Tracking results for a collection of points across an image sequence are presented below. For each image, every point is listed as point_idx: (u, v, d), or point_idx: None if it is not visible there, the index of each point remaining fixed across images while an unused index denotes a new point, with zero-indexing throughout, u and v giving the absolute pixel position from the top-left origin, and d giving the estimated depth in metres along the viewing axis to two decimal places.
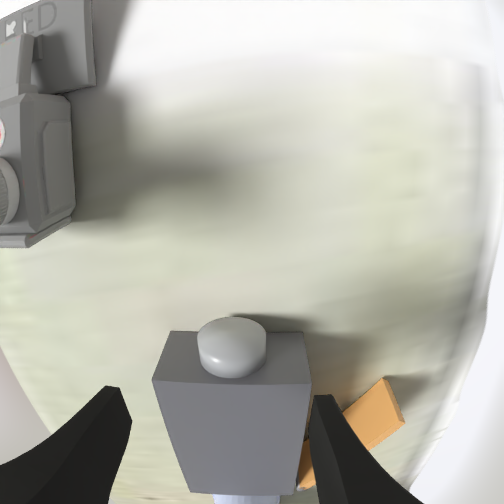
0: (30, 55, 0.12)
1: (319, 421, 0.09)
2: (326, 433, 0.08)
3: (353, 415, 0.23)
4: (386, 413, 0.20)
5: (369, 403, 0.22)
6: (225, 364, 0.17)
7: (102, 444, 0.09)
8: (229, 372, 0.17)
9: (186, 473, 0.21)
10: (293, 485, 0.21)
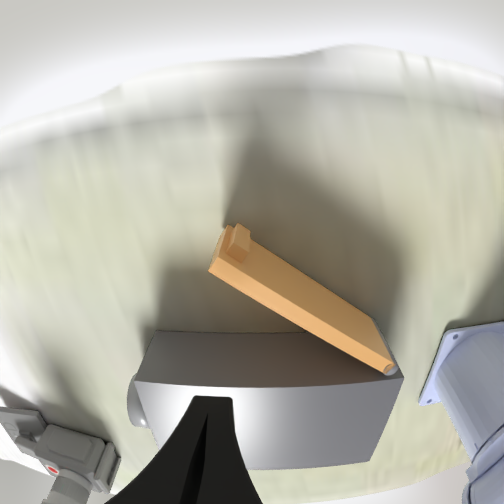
0: (24, 440, 0.24)
1: None
2: (207, 434, 0.08)
3: None
4: None
5: None
6: (138, 423, 0.18)
7: (203, 459, 0.09)
8: (145, 422, 0.18)
9: (318, 465, 0.19)
10: (369, 383, 0.16)
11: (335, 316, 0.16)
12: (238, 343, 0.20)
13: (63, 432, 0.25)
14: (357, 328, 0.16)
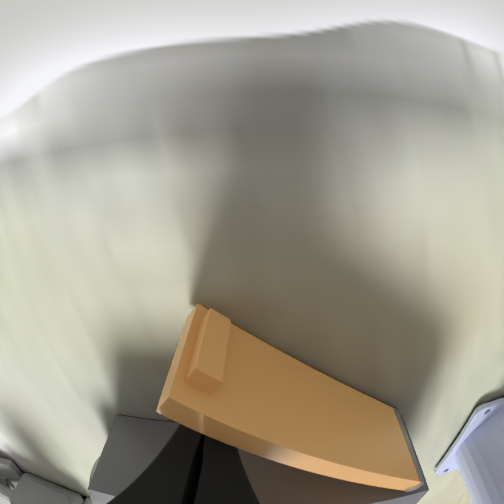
0: (0, 486, 0.18)
1: None
2: None
3: None
4: None
5: None
6: None
7: None
8: None
9: None
10: (385, 501, 0.10)
11: (351, 438, 0.10)
12: None
13: (38, 484, 0.19)
14: (378, 444, 0.10)
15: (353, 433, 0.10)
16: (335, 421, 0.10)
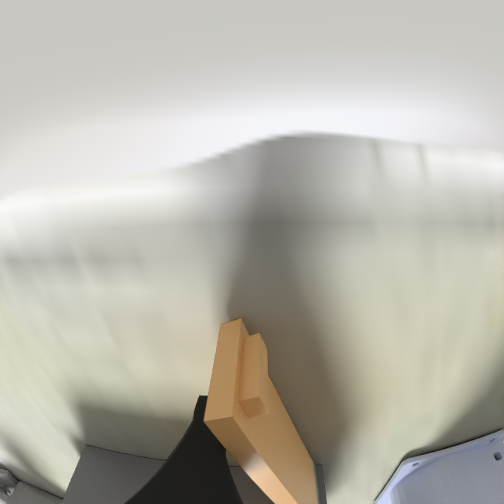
0: None
1: None
2: (192, 433, 0.08)
3: None
4: None
5: None
6: None
7: None
8: None
9: None
10: None
11: (298, 478, 0.11)
12: None
13: (32, 492, 0.21)
14: (307, 489, 0.12)
15: (299, 475, 0.11)
16: (293, 461, 0.11)
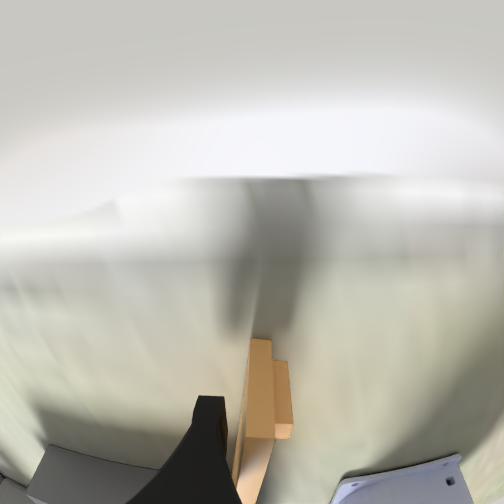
0: None
1: None
2: (191, 433, 0.08)
3: (240, 420, 0.12)
4: (245, 416, 0.09)
5: (244, 395, 0.11)
6: None
7: None
8: None
9: None
10: None
11: None
12: (109, 474, 0.16)
13: (15, 488, 0.21)
14: None
15: None
16: None
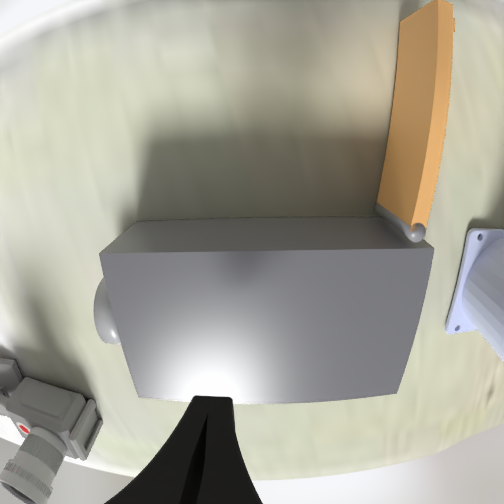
0: None
1: None
2: (207, 434, 0.08)
3: (404, 75, 0.13)
4: (425, 17, 0.10)
5: (407, 44, 0.13)
6: (106, 332, 0.16)
7: (203, 459, 0.09)
8: (114, 330, 0.16)
9: (333, 397, 0.16)
10: (393, 251, 0.13)
11: None
12: (230, 223, 0.17)
13: (40, 384, 0.23)
14: None
15: None
16: None
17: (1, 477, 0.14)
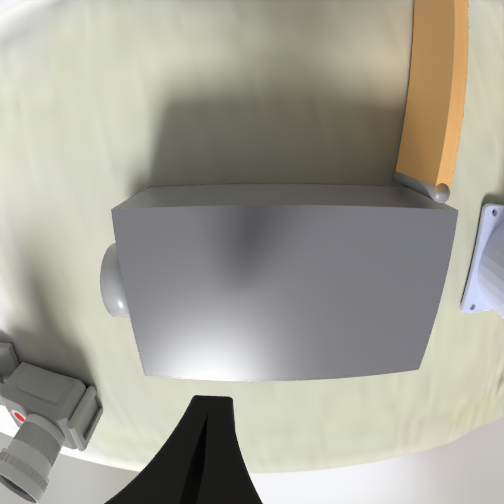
0: None
1: None
2: (207, 434, 0.08)
3: (420, 47, 0.13)
4: None
5: (423, 19, 0.12)
6: (112, 301, 0.15)
7: (202, 459, 0.09)
8: (122, 299, 0.15)
9: (355, 372, 0.16)
10: (419, 210, 0.12)
11: None
12: (248, 187, 0.16)
13: (37, 370, 0.22)
14: None
15: None
16: None
17: None
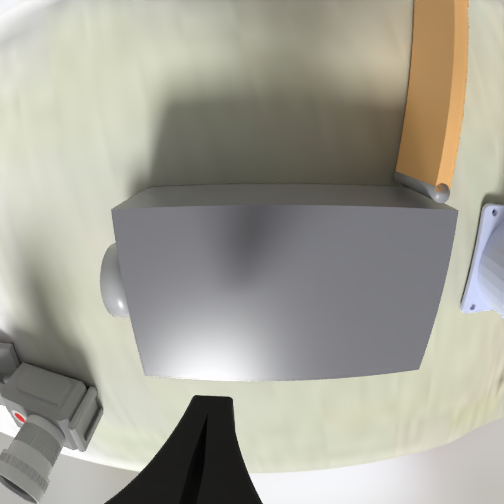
0: None
1: None
2: (207, 434, 0.08)
3: (420, 47, 0.13)
4: None
5: (423, 19, 0.12)
6: (112, 301, 0.15)
7: (202, 459, 0.09)
8: (122, 299, 0.15)
9: (355, 372, 0.16)
10: (419, 210, 0.12)
11: None
12: (248, 187, 0.16)
13: (38, 370, 0.22)
14: None
15: None
16: None
17: None
